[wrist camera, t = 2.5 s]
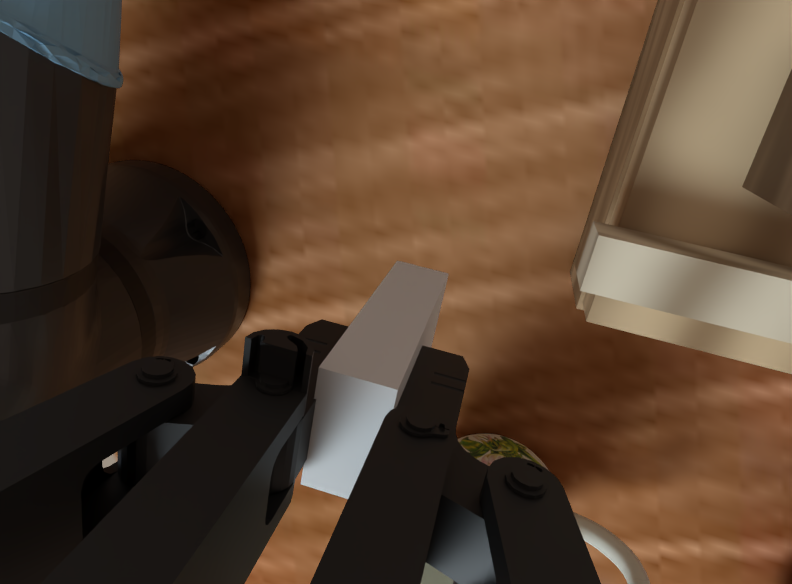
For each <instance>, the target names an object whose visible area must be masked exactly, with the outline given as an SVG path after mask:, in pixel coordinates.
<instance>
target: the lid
mask: <svg viewBox="0 0 792 584" xmlns="http://www.w3.org/2000/svg"><path fill="white" fill-rule="evenodd" d="M609 225H614V226H618V227H622V228H626V229H631V230H635V231H639V232H644V233H648V234H652V235H656V236H661V237H665V238H669V239H674V240H678V241H682V242H686V243H691V244H695V245H699V246H704V247H708V248H712V249H716V250H721V251H725V252H729V253H734V254H738V255H742V256H746V257H751V258H755V259H759V260H763V261H768V262H772V263H776V264H781V265H785V266H789V267H792V0H685V2H684V5H683V8H682V11H681V14H680V17H679V20H678V22H677V25H676V28H675V31H674V34H673V37H672V40H671V43H670V46H669V49H668V52H667V55H666V58H665V61H664V64H663V67H662V70H661V73H660V76H659V78H658V81H657V84H656V87H655V90H654V93H653V96H652V99H651V102H650V105H649V108H648V111H647V114H646V117H645V120H644V123H643V126H642V129H641V131H640V134H639V137H638V140H637V143H636V146H635V149H634V152H633V155H632V158H631V161H630V164H629V167H628V170H627V173H626V176H625V179H624V182H623V184H622V187H621V190H620V193H619V196H618V199H617V202H616V205H615V208H614V211H613V214H612V217H611V220H610V223H609ZM582 303H583V308H584V313H585V318H586V321H587V322H591V323H594V324H598V325H602V326H606V327H610V328H614V329H618V330H622V331H626V332H630V333H633V334H637V335H641V336H645V337H649V338H653V339H657V340H661V341H665V342H669V343H672V344H676V345H680V346H684V347H688V348H692V349H696V350H700V351H704V352H708V353H711V354H715V355H719V356H723V357H727V358H731V359H735V360H739V361H743V362H747V363H751V364H754V365H758V366H762V367H766V368H770V369H774V370H778V371H782V372H786V373H790V374H792V344H791V343H787V342H783V341H779V340H775V339H771V338H767V337H763V336H759V335H755V334H751V333H747V332H743V331H739V330H735V329H731V328H727V327H723V326H719V325H715V324H711V323H707V322H703V321H699V320H695V319H691V318H687V317H683V316H679V315H675V314H671V313H667V312H663V311H659V310H655V309H651V308H647V307H643V306H639V305H635V304H631V303H627V302H623V301H619V300H615V299H611V298H607V297H603V296H599V295H595V294H591V293H587V292H586V293H585V296H584V299H583V302H582Z"/></svg>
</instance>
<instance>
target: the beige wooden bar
mask: <svg viewBox="0 0 792 584" xmlns="http://www.w3.org/2000/svg"><path fill="white" fill-rule="evenodd" d="M576 273H577V278H578V283H579V288H580V291H583V292H587V293H591V294H595V295H599V296H603V297H607V298H611V299H615V300H619V301H623V302H627V303H631V304H635V305H639V306H643V307H647V308H651V309H655V310H659V311H663V312H667V313H671V314H675V315H679V316H683V317H687V318H691V319H695V320H699V321H703V322H707V323H711V324H715V325H719V326H723V327H727V328H731V329H735V330H739V331H743V332H747V333H751V334H755V335H759V336H763V337H767V338H771V339H775V340H779V341H783V342H787V343H791V344H792V267H789V266H785V265H781V264H776V263H772V262H768V261H763V260H759V259H755V258H751V257H746V256H742V255H738V254H734V253H729V252H725V251H721V250H716V249H712V248H708V247H704V246H699V245H695V244H691V243H686V242H682V241H678V240H674V239H669V238H665V237H661V236H656V235H652V234H648V233H644V232H639V231H635V230H631V229H626V228H622V227H618V226H614V225H609V224H605V223H601V222H596V221H593V223H592V226H591V229H590V232H589V235H588V238H587V241H586V244H585V247H584V250H583V253H582V257H581V260H580V263H579V266H578V269H577V272H576Z"/></svg>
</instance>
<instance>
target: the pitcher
mask: <svg viewBox="0 0 792 584" xmlns="http://www.w3.org/2000/svg"><path fill="white" fill-rule="evenodd" d="M458 442H459V443H460V444H461V446H462V447H463V448H464V449H465V450H466V451H467V452H468V453H469V454H470V455H471V456H473V457H474V458H476V459H478V460H479V461H481V462H483V463H484V464H486V465H488V466H490V465H491V464H492V462H493V461H494V460H497V459H500V458H503V457H519V458H523V459H527V460H530V461H533V462H535V463H537V464H539V465H541V466H543V467H545V468H546V469H547V470H548V468H547V467H546V466H545V464H544V463H543V462H542V461H541V459H540V458H538V457H537V456H536V455H535V454H534V453H533V452H532V451H531V450H530V449H528V448H527V447H525V446H524V445H522V444H521V443H519V442H517V441H515V440H513V439H510V438H507V437H504V436H501V435H496V434H473V435H468V436H464V437H461V438H459V439H458ZM573 513H574V512H573ZM574 516H575V518H576V521H577V524H578V526H579V529H580V531H581V534H582V536H583V539H584V541H586V542H587V543H589V544H591V545H592V546H594V547H595V548H597V549H598V550H599V551H600V552H602V553H603V554H604V555H605V556H607V557H608V558H609V559H610V560H611V561H612V562H613V563H614V564H615V565H616V566H617V567H618V568H619V569H620V571H621V572H622V573H623V575H624V577H625V579H626V580H627V583H628V584H650V581H649V579H648V576H647V573H646V571H645V569H644V567H643V566H642V564H641V562H640V560H639V559H638V558H637V556H636V555H635V554H634V553H633V551H632V550H631V549H630V548H629V547H628V546H627V545H626V544H625V543H624V542H623V541H621V540H620V539H619V538H618V537H617V536H615V535H614V534H613V533H611V532H610V531H609V530H607V529H606V528H604V527H603V526H601V525H599V524H598V523H596V522H594V521H592V520H590V519H588V518H586V517H584V516H581V515H579V514H577V513H574ZM421 584H453V580H452V579H451V578H449V577H448V576H446V575H444V574H443V573H441V572H440V571H438V570H437V569H435V568H434V567H432V566H431V565H429V564H428V563H425V567H424V572H423V576H422V580H421Z"/></svg>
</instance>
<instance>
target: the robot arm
mask: <svg viewBox="0 0 792 584" xmlns="http://www.w3.org/2000/svg"><path fill="white" fill-rule="evenodd" d="M121 9H122V0H0V584H244V583H245V581H246V580H247V578H248V576H249V574H250V573H251V571H252V569H253V567H254V566H255V564H256V562H257V560H258V558H259V557H260V555H261V553H262V551H263V550H264V548H265V546H266V544H267V543H268V541H269V539H270V537H271V536H272V534H273V532H274V530H275V529H276V527H277V525H278V523H279V521H280V520H281V518H282V516H283V514H284V513H285V511H286V509H287V507H288V506H289V504H290V502H291V499H292V495H293V489H294V483H295V478H296V477H297V475H298V473H299V472H300V470H301V468H302V467H303V473H302V479H301V484H302V485H305V486H308V487H311V488H314V489H318V490H321V491H324V492H327V493H330V494H333V495H337V496H340V497H343V498H346V499H348V500H347V503H346V505H345V507H344V509H343V512H342V514H341V516H340V518H339V521H338V523H337V525H336V527H335V530H334V532H333V534H332V536H331V538H330V541H329V543H328V545H327V547H326V550H325V552H324V554H323V556H322V559H321V561H320V563H319V565H318V568H317V570H316V572H315V574H314V577H313V579H312V581H311V583H310V584H421V580H422V576H423V572H424V567H425V563H428V564H429V565H431V566H432V567H434V568H435V569H437V570H438V571H440V572H441V573H443V574H444V575H446V576H448V577H449V578H451V579H452V580H453V584H601V583H600V580H599V577H598V575H597V572H596V570H595V567H594V565H593V562H592V559H591V557H590V554H589V552H588V549H587V547H586V544H585V542H584V539H583V536H582V534H581V531H580V529H579V526H578V524H577V521H576V518H575V516H574V513H573V511H572V508H571V506H570V503H569V501H568V498H567V495H566V493H565V490H564V488H563V486H562V485H561V483H560V482H559V480H558V479H557V477H556V476H554V475H553V474H552V473H551V472H550V471H549V470H547V469H546V468H545V467H543V466H541V465H539V464H537V463H535V462H533V461H530V460H527V459H523V458H519V457H503V458H500V459H497V460H494V461H493V462H492V464H491V465H490V466H488V465H486V464H484V463H483V462H481V461H479V460H478V459H476V458H474V457H473V456H471V455H470V454H469V453H468V452H467V451H466V450H465V449H464V448H463V447H462V446H461V444H460V443H459V442H458V439H457V436H456V425H457V420H458V416H459V412H460V407H461V403H462V399H463V394H464V390H465V386H466V381H467V377H468V372H469V368H468V366H467V364H466V362H465V360H464V358H463V356H459V355H456V354H452V353H448V352H445V351H441V350H437V349H434V348H431V346H432V342H433V338H434V333H435V329H436V325H437V321H438V317H439V312H440V308H441V304H442V300H443V296H444V291H445V287H446V283H447V279H448V273H444V272H440V271H436V270H432V269H428V268H424V267H420V266H417V265H413V264H409V263H405V262H401V261H397V262H396V263H395V265H394V266H393V267H392V269H391V270H390V271H389V273H388V274H387V275H386V277H385V278H384V280H383V281H382V282H381V284H380V285H379V286H378V288H377V289H376V290H375V292H374V293H373V294H372V296H371V297H370V299H369V300H368V301H367V303H366V304H365V305H364V307H363V308H362V309H361V311H360V312H359V313H358V315H357V316H356V318H355V319H354V320H353V322H352V323H351V324H350V326H349V327H348V326H344V325H340V324H337V323H333V322H329V321H326V320H319V321H317V322H314V323H312V324H309V325H307V326H306V327H305V328H304V329H303V330H302V331H301V332H300V333H299V334H296V333H294V332H290V331H284V330H262V331H257V332H253V333H252V334H250V335H248V336H246V337H245V345H244V356H243V366H242V375H241V376H240V377H239V378H238V379H237V380H236V381H235V382H234V383H233V384H232V385H210V384H198V383H195V376H196V374H195V372H194V369H193V367H194V366H196V365H198V364H200V363H202V362H203V361H205V360H206V359H208V358H209V357H210V356H212V355H213V354H214V353H215V352H216V351H217V350H219V349H220V348H221V347H222V346H223V345H224V344H225V343H226V342H228V341H229V340H230V338H231V337H232V336H233V335H234V334H235V332H236V331H237V329H238V328H239V326H240V324H241V322H242V320H243V318H244V316H245V313H246V310H247V306H248V302H249V296H250V271H249V265H248V260H247V255H246V252H245V249H244V246H243V243H242V241H241V238H240V236H239V234H238V232H237V230H236V228H235V226H234V224H233V222H232V221H231V219H230V218H229V216H228V215H227V213H226V212H225V211H224V209H223V208H222V207H221V205H220V204H219V203H218V202H217V201H216V200H215V199H214V198H213V196H211V195H210V194H209V193H208V192H207V191H206V190H205V189H204V188H203V187H201V186H200V185H199V184H198V183H196V182H195V181H194V180H192V179H191V178H189V177H187V176H186V175H184V174H182V173H180V172H179V171H176V170H174V169H172V168H170V167H167V166H164V165H161V164H158V163H154V162H149V161H141V160H125V161H118V162H114V163H109V164H108V161H109V152H110V143H111V134H112V125H113V116H114V107H115V97H116V88H120V87H122V84H123V75H122V72H121V71H120V70H119V55H120V32H121ZM117 451H118V461H117V462H116V463H114V464H112V465H111V466H109V467H106V468H103V467H102V460H104V459H105V458H107V457H109V456H110V455H112V454H114V453H115V452H117ZM303 465H304V466H303Z"/></svg>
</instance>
